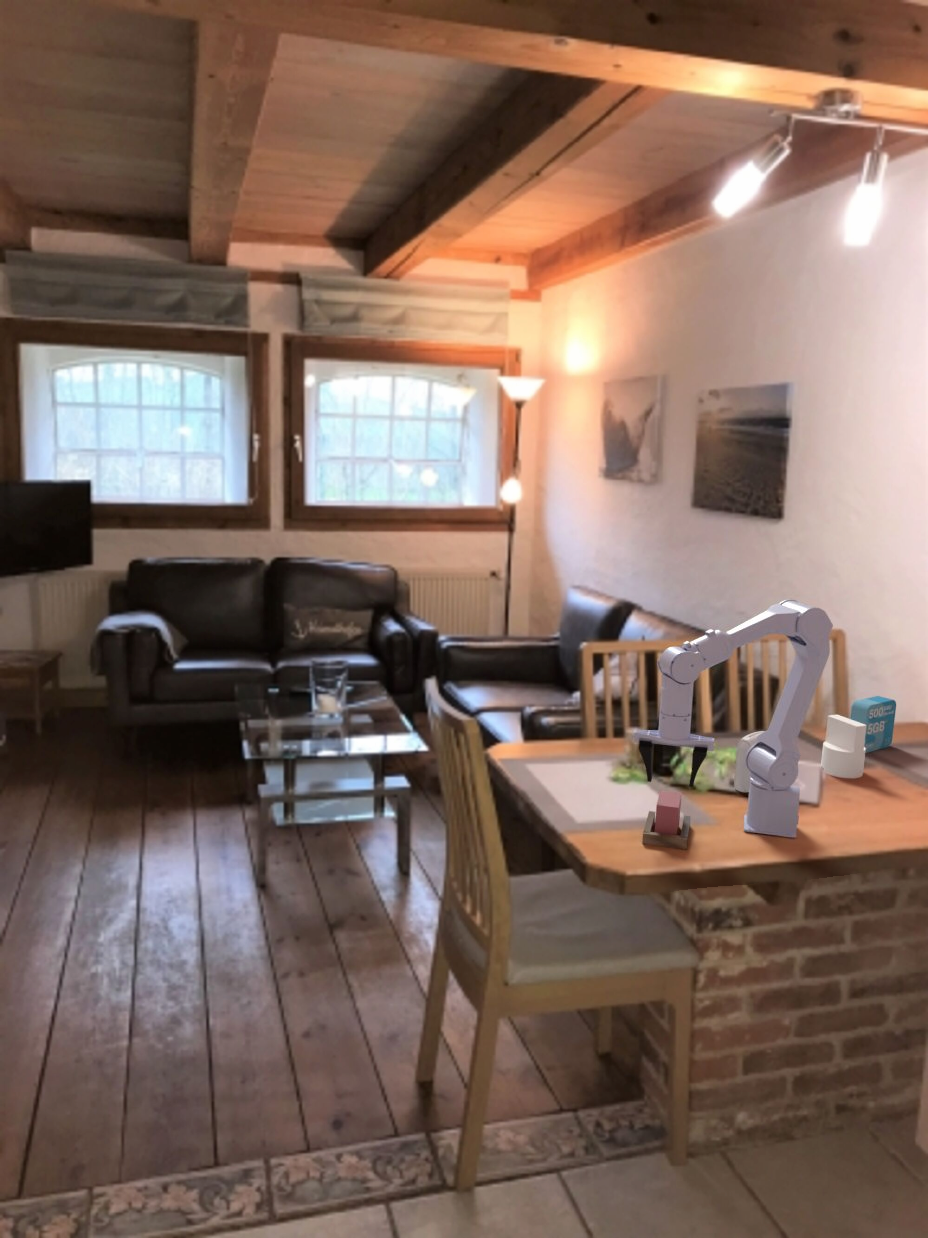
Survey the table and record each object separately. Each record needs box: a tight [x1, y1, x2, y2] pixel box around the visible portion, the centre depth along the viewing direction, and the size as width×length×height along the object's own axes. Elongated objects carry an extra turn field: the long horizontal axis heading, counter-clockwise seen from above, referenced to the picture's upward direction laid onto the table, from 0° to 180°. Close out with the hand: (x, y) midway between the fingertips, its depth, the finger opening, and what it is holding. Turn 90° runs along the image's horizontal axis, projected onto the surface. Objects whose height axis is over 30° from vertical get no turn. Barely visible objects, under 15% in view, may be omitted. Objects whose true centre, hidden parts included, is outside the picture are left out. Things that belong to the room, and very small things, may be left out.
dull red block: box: [654, 789, 682, 836], centre depth 189 cm, size 4×8×7 cm, turn 164°
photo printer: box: [733, 730, 766, 794], centre depth 214 cm, size 10×4×12 cm, turn 123°
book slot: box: [641, 810, 691, 851], centre depth 189 cm, size 8×11×2 cm
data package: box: [849, 695, 897, 754], centre depth 244 cm, size 12×4×12 cm, turn 125°
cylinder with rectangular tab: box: [820, 714, 867, 779], centre depth 226 cm, size 9×9×12 cm
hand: (670, 782), depth 187 cm, fingers open, 7 cm apart
